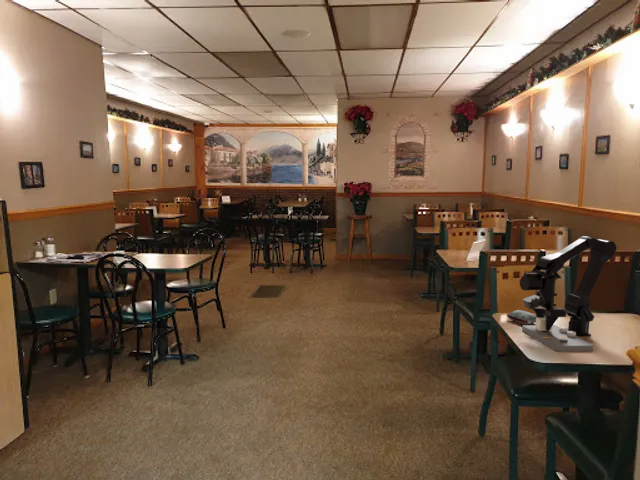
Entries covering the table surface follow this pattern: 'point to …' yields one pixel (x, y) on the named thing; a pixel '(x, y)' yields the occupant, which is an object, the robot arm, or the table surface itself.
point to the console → (558, 338)
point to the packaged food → (522, 317)
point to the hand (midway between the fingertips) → (543, 328)
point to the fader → (541, 324)
